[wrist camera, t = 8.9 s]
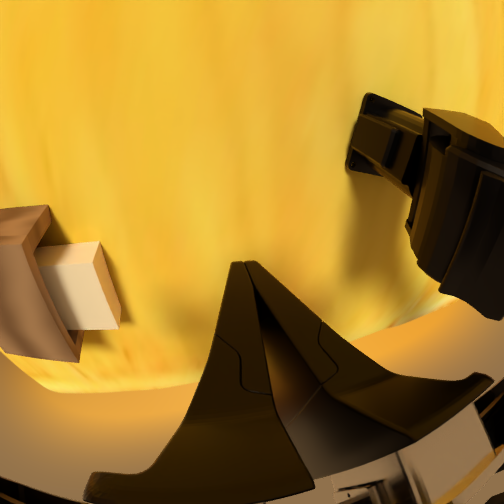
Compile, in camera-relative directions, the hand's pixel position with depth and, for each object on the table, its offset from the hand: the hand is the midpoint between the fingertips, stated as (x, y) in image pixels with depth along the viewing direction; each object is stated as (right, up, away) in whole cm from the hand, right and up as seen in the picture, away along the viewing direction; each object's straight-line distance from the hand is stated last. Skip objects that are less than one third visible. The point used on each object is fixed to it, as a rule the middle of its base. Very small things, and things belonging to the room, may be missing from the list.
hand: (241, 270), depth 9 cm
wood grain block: (-21, -1, +9) cm, 23 cm away
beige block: (-17, -2, +11) cm, 20 cm away
